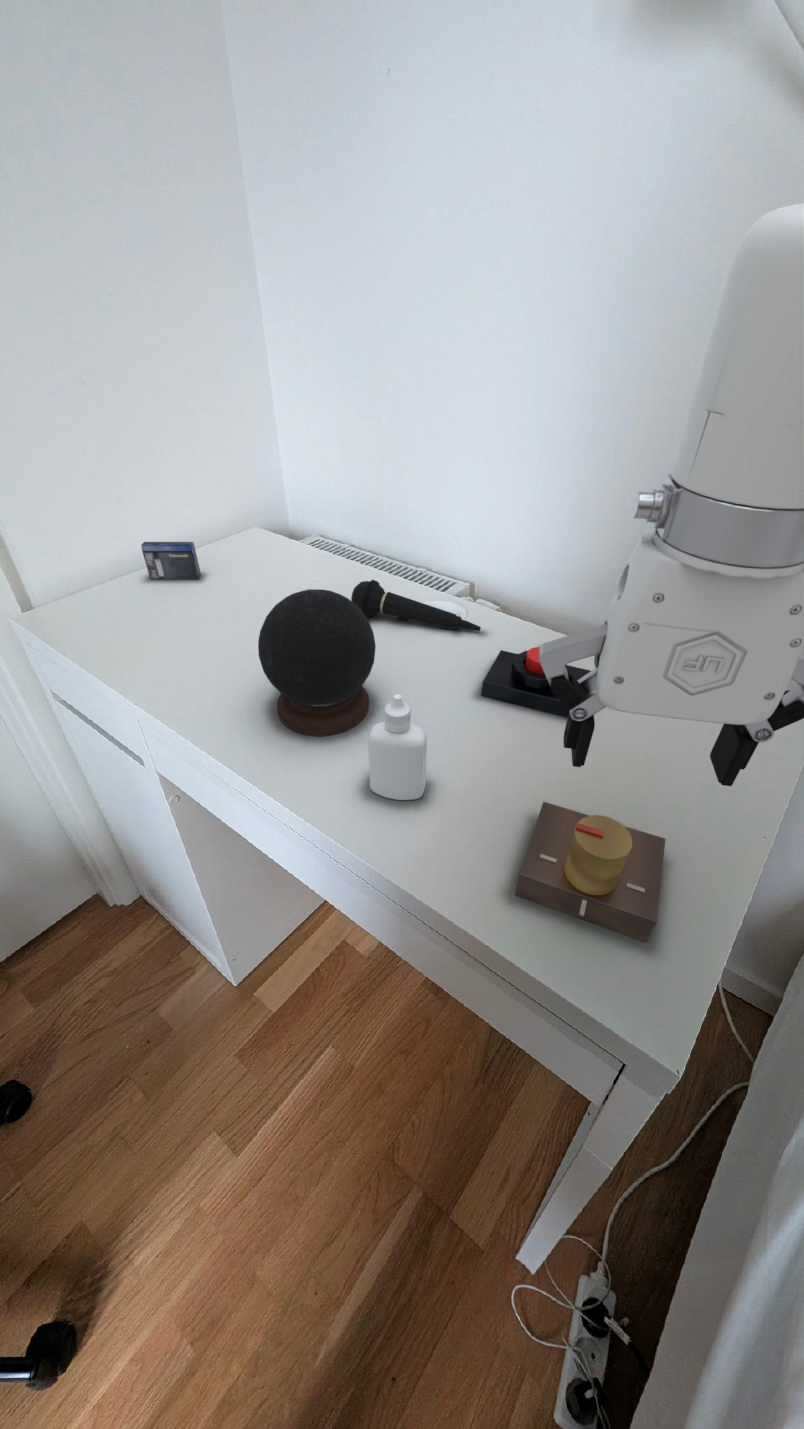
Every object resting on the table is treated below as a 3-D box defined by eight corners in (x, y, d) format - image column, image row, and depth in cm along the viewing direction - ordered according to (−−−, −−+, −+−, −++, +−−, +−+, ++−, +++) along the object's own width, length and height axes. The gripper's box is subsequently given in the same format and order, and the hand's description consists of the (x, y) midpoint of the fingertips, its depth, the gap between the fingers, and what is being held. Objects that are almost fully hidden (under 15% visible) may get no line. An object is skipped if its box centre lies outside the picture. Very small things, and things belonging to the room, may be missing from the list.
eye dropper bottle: (391, 765, 63) (390, 674, 55) (431, 789, 60) (436, 697, 53) (363, 787, 60) (358, 695, 53) (404, 813, 57) (405, 720, 50)
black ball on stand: (312, 665, 78) (301, 560, 69) (397, 694, 73) (396, 585, 64) (246, 718, 69) (222, 606, 60) (337, 756, 64) (326, 640, 55)
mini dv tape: (150, 579, 98) (140, 545, 94) (153, 575, 99) (143, 541, 96) (198, 579, 98) (190, 545, 95) (201, 575, 99) (193, 541, 96)
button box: (588, 684, 75) (595, 658, 72) (576, 720, 69) (583, 693, 67) (498, 663, 79) (502, 638, 76) (480, 695, 73) (483, 669, 70)
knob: (621, 862, 49) (636, 822, 46) (614, 903, 46) (629, 864, 43) (569, 845, 51) (580, 805, 48) (559, 884, 48) (570, 845, 44)
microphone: (477, 643, 88) (355, 609, 91) (487, 606, 86) (362, 573, 89) (472, 652, 83) (343, 615, 86) (483, 613, 81) (350, 577, 84)
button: (557, 662, 72) (559, 650, 71) (551, 677, 70) (553, 665, 69) (529, 656, 73) (531, 644, 72) (521, 670, 71) (523, 658, 70)
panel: (656, 859, 53) (666, 837, 51) (644, 962, 46) (655, 940, 44) (538, 822, 57) (543, 799, 55) (508, 911, 49) (513, 889, 47)
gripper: (568, 536, 28) (520, 784, 39) (965, 565, 26) (797, 820, 36) (563, 487, 34) (522, 715, 45) (887, 508, 32) (762, 742, 42)
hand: (646, 762), depth 41 cm, fingers open, 9 cm apart
